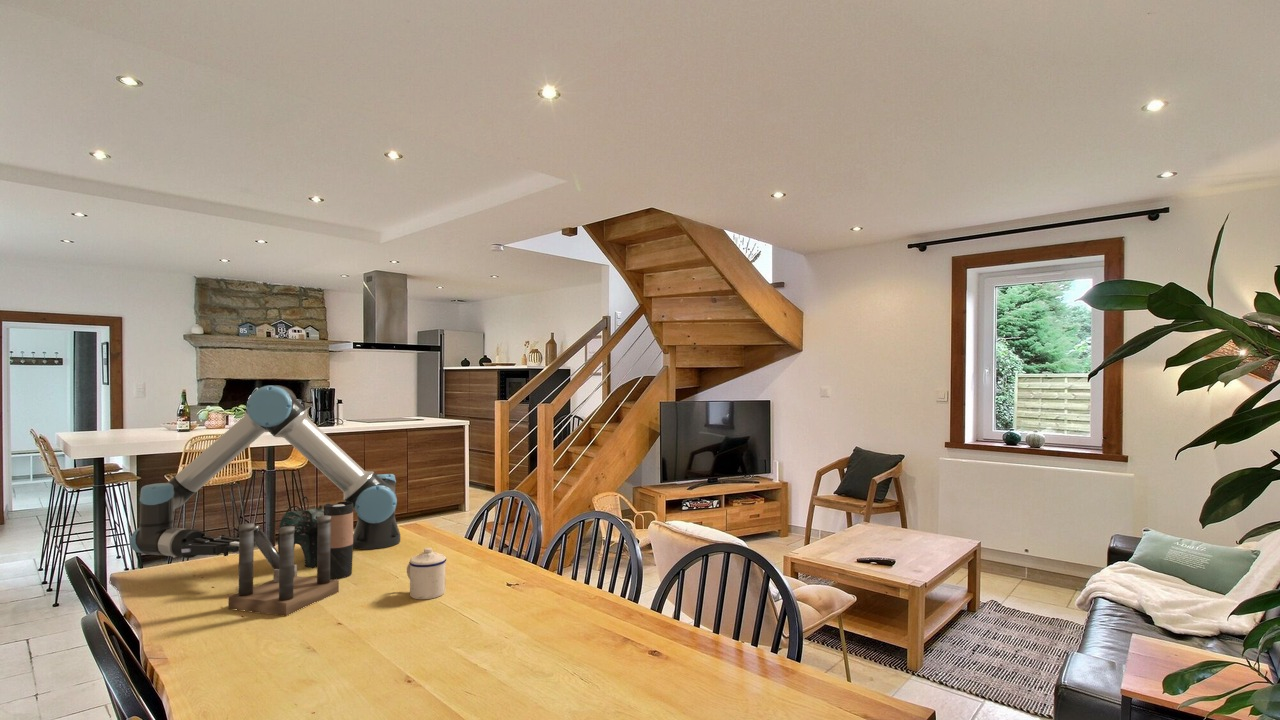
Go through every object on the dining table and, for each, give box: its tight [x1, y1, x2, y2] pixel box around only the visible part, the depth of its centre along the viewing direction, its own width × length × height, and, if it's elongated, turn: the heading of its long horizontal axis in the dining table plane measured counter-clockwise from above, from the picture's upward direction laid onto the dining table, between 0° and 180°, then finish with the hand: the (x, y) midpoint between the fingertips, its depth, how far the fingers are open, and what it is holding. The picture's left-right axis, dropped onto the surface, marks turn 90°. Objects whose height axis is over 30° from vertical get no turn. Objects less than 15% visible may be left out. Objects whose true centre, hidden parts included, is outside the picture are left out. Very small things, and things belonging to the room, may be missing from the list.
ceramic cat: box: [277, 496, 324, 569], centre depth 190 cm, size 20×6×20 cm, turn 58°
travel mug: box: [323, 501, 354, 580], centre depth 178 cm, size 8×8×20 cm
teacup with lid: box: [406, 547, 447, 600], centre depth 163 cm, size 12×9×12 cm
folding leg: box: [254, 524, 279, 571], centre depth 167 cm, size 3×3×15 cm
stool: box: [227, 516, 340, 617], centre depth 158 cm, size 17×17×20 cm
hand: (251, 548), depth 169 cm, fingers closed
